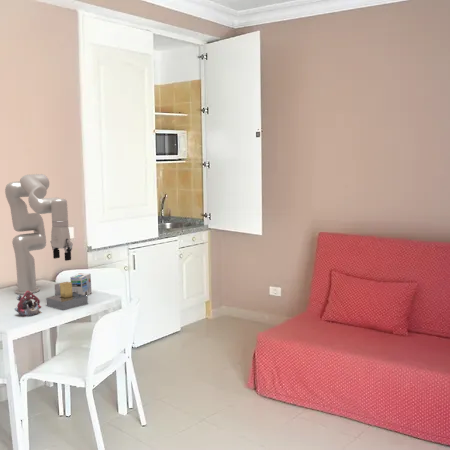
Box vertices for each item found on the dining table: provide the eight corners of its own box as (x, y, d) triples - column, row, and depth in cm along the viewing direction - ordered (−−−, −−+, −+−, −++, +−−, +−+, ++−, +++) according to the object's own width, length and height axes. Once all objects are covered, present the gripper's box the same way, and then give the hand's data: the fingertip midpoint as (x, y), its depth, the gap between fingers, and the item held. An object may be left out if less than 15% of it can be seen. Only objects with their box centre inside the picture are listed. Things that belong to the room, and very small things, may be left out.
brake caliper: (26, 313, 248) (15, 291, 251) (16, 325, 254) (6, 302, 257) (48, 308, 257) (37, 286, 260) (38, 319, 263) (28, 297, 266)
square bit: (61, 305, 271) (59, 283, 270) (68, 303, 274) (67, 281, 273) (65, 306, 268) (64, 284, 267) (73, 304, 271) (71, 282, 270)
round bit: (53, 295, 292) (53, 283, 291) (66, 293, 295) (66, 282, 294) (56, 297, 286) (56, 286, 285) (69, 296, 289) (69, 285, 288)
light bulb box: (83, 298, 284) (81, 277, 283) (71, 297, 286) (69, 277, 285) (92, 293, 295) (90, 273, 294) (80, 292, 296) (79, 273, 295)
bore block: (46, 305, 270) (46, 297, 270) (71, 299, 281) (70, 292, 280) (63, 310, 261) (62, 301, 261) (87, 303, 272) (87, 295, 271)
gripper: (43, 224, 271) (45, 258, 273) (63, 226, 260) (65, 262, 262) (57, 222, 276) (59, 256, 279) (77, 224, 265) (79, 259, 267)
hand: (62, 259), depth 270 cm, fingers open, 9 cm apart
